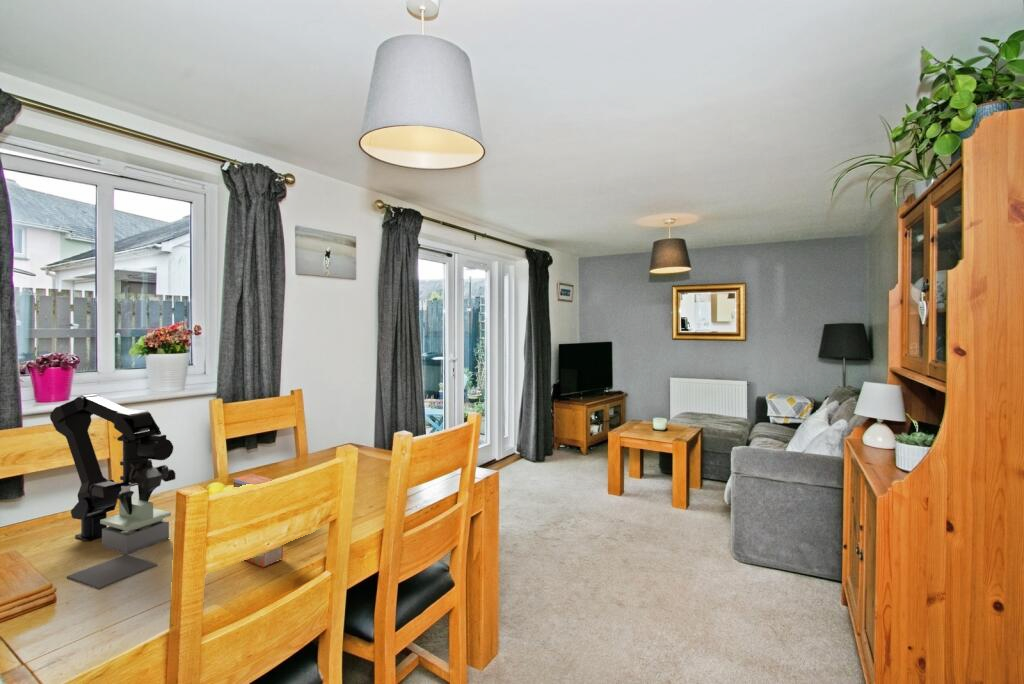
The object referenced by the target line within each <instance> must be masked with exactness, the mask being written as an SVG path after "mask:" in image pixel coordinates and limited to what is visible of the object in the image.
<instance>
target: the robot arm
mask: <svg viewBox="0 0 1024 684" xmlns="http://www.w3.org/2000/svg"><path fill="white" fill-rule="evenodd" d="M93 415H94V416H96V417H97V416H98V417H99V418H101V419H103V420H106V421H107V422H110V423H112V424H113V428H114V429H115V430H116V431H117V432H119V433H121V435H120V436H119V437H117V441H118V442H122V460H121V461H120V462H119V466H122V475H121V476H119V478H120V482H115V481H114V479H107V478H105V476H104V475H103V472H102V470H101V466H100V463H99V461H98V457H97V455H96V452H95V448H94V446H93V443H92V440H91V437H90V434H89V428H90V426H91V424H92V423H91V422H92V417H91V416H93ZM49 420H50V421H51V422H52V425H53V428H54V430H55V431H56V432H58V433H59V434H60V435H62V436H64V437H65V439H66V441H67V445H68V447H69V450H70V454H71V456H72V460H73V462H74V466H75V468H76V471H77V475H78V478H79V480H80V487H79V490H78V492H77V499H78V500H77V501H78V502H77V503H76V504H75V505H74V507H72V509H71V510H70V514H71V518H72V519H74V520H80V533H79V534H75V535H74V538H77V539H79V540H83V541H86V542H88V541H93V540H95V539H97V538H102V529H103V528H106V527H108V525H104V524H100V520H101V519H105V518H108V513H109V512H112V511H115V510H116V508H117V507H116V506H117V504H118V500H119V501H120V502H121V503H122V505H123V507H124V508H125V510H126V512H127V514H129V515H131V514H132V498H133V497H132V496H133V495H134V493H135V491H133V490H131V487H135V486H137V488H138V489H137V490H138V491H137V492H138V499H139V500H143V501H147V502H149V500H150V497H151V495H152V494H153V492H154V491H155V490H156V489H157V488H158V487H160V486H161V484H162V481H163V482H171V481H175V480H176V471H175V470H174V469H170V468H169V466H168V465H166V464H163V465H160V466H156V467H154V466H153V462H152V461H153V460H154V461H155V460H156V461H166V460H167V459H169V458H170V457H171V456H172V454H173V452H174V444H173V443H172V441H171V440H169V439H167V434H162V431H161V430H160V426H158V424H157V422H156V421H155V419H154V417H153V415H152V413H151V412H149V411H147V410H143V409H139V408H138V409H135V408H133V409H132V408H127V407H124V406H122V405H120V404H117V403H115V402H113V401H111V400H109V399H106V398H105V397H104V398H103V397H101V395H100V394H96V393H94V394H84V395H79V396H78V397H76V398H74V399H73V400H70V401H68V402H66V403H64V404H61V405H59V406H56V407H54V409H53V410H52V411H51V412H50V415H49Z"/></svg>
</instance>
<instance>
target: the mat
mask: <svg viewBox="0 0 1024 684" xmlns="http://www.w3.org/2000/svg"><path fill="white" fill-rule="evenodd" d="M157 566H158V563H156V562H152V561H149V560H146V559H143V558H139V557H136V556H133V555H130V554H122V555H120V556H118V557H115V558H112V559H109V560H106V561H104V562H101V563H99V564H98V563H97V564H95V565H93V566H90V567H88V568H86V569H85V568H84V569H82V570H80V571H76V572H74V573H71V574H69V575H67V576H66V578H67V579H69V580H72V581H75V582H77V583H80V584H83V585H86V586H88V587H90V588H93V587H94V589H97V590H102V589H103V588H106V587H109V586H111V585H113V584H116V583H118V582H120V581H123V580H126V579H128V578H131V577H133V576H135V575H138V574H140V573H143V572H145V571H147V570H150V569H152V568H154V567H157Z"/></svg>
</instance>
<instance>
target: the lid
mask: <svg viewBox="0 0 1024 684" xmlns="http://www.w3.org/2000/svg"><path fill="white" fill-rule="evenodd" d="M118 503H119V506H118V507H119V508H118V510H119V512H118V513H119V514H118V513H117V514H116V515H112V516H107V518H105V519H101V520H100V524H104V525H107V527H110V526H111V527H114V528H118V529H121V530H125V531H132V530H135V529H138V528H141V527H144V526H147V525H150V524H153V523H156V522H159V521H162V520H164V519H166V518H168V517H171V516H172V512H170V511H166V510H164V509H163V510H162V509H158V508H155V507H154V502H152V501H148V502H147V501H143V500H139V498H133V497H132V514H131V515H129V514H127V512H126V510H125V508H124V507H123V505H122V503H121V502H120V500H119V501H118Z"/></svg>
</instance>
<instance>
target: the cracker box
mask: <svg viewBox="0 0 1024 684" xmlns="http://www.w3.org/2000/svg"><path fill="white" fill-rule="evenodd" d="M272 480H275V479H273V478H270V477H266V476H262V475H258V474H255V473H250V474H246V475H242V476H238V477H234V478H233V488H234V487H240V486H242V485H246V484H261V483H265V482H268V481H272ZM283 557H284V546H280V547H278V548H276V549H273V550H270V551H268V552H266V553H263V554H260V555H258V556H256V557H253V558H250V559H248V560H246V561H247V562H250V563H252V564H255V565H257V566H259V567H261V566H262V567H261V568H266V567H268V566H270V565H269V564H271V565H273V564H275V563H274V562H276V561H277V560H280V559H282V558H283ZM283 559H284V558H283ZM272 563H273V564H272ZM276 563H277V562H276ZM267 565H268V566H267ZM265 566H266V567H265Z"/></svg>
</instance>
